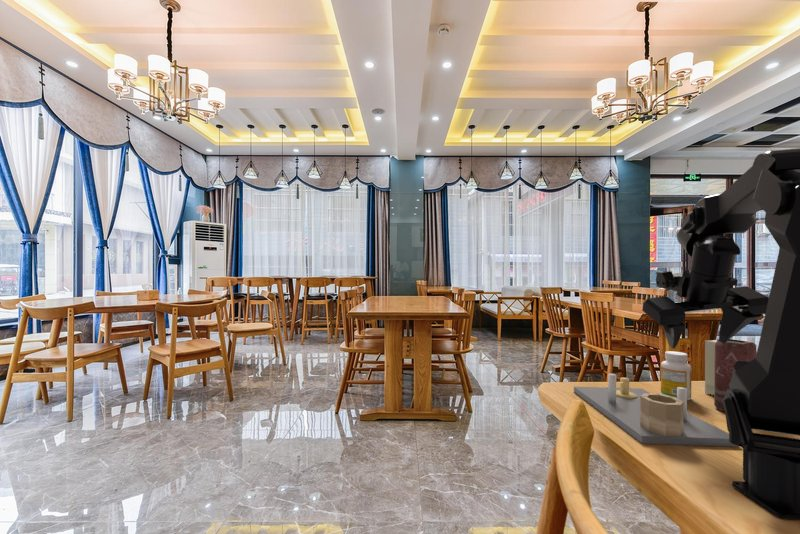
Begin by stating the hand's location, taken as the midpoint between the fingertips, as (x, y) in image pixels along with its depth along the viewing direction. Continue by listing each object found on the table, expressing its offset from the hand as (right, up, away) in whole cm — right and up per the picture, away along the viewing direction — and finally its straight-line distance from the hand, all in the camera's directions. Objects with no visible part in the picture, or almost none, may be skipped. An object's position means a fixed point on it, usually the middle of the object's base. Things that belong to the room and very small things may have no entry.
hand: (696, 344), depth 70 cm
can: (+10, -14, +3) cm, 18 cm away
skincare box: (+17, -14, +13) cm, 25 cm away
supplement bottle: (+4, -14, +11) cm, 19 cm away
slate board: (-10, -14, +1) cm, 17 cm away
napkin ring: (-13, -12, -9) cm, 20 cm away
